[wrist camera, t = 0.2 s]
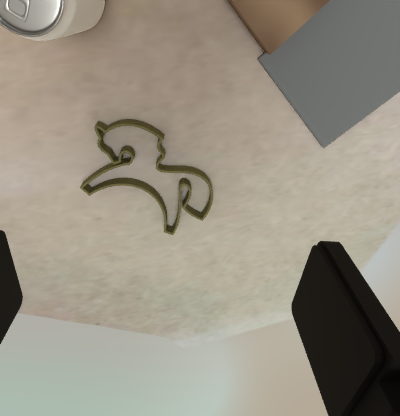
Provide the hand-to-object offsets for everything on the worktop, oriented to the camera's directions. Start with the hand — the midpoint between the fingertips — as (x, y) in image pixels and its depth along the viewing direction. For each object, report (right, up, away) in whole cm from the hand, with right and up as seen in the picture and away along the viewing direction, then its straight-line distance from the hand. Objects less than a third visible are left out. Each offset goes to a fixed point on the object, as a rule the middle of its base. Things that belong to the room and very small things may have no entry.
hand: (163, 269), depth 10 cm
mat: (+18, +19, +25) cm, 36 cm away
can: (-11, +23, +21) cm, 33 cm away
